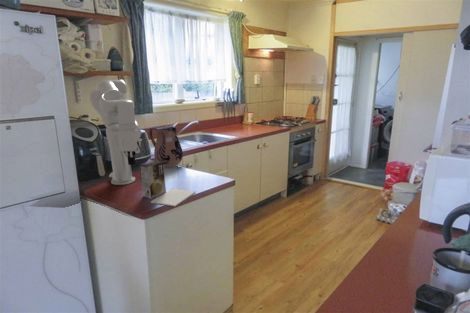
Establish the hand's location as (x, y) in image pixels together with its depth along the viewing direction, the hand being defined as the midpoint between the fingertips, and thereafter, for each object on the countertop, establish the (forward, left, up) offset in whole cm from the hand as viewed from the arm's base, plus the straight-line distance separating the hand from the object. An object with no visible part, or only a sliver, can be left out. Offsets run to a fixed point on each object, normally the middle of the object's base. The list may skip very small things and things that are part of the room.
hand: (132, 164), depth 157 cm
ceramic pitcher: (-12, +45, -15) cm, 49 cm away
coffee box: (+12, 0, -15) cm, 19 cm away
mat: (+23, 0, -14) cm, 27 cm away
